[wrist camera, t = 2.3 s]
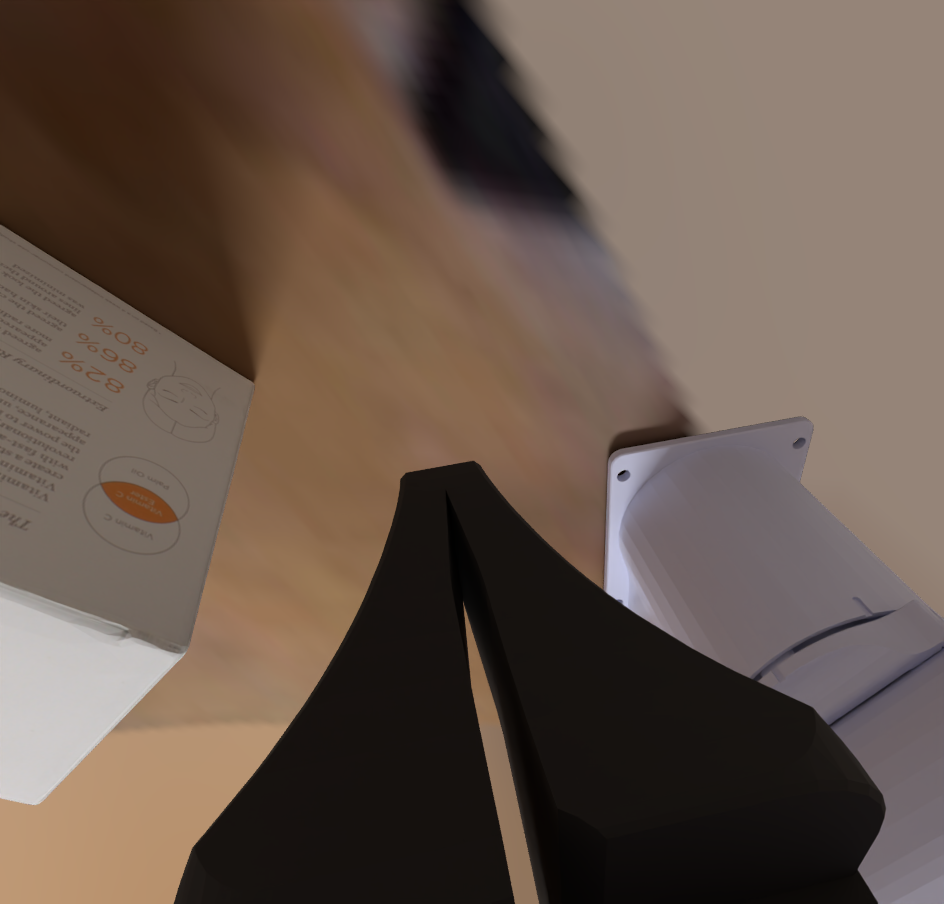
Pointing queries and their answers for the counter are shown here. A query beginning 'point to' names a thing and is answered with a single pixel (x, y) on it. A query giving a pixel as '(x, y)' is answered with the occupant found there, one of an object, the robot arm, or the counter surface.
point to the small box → (97, 508)
